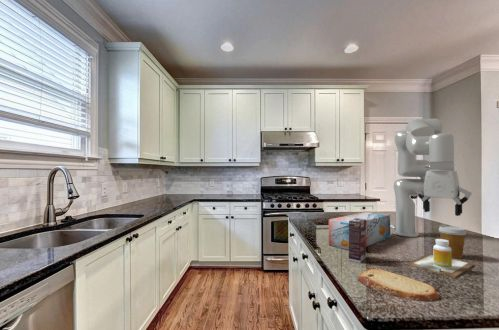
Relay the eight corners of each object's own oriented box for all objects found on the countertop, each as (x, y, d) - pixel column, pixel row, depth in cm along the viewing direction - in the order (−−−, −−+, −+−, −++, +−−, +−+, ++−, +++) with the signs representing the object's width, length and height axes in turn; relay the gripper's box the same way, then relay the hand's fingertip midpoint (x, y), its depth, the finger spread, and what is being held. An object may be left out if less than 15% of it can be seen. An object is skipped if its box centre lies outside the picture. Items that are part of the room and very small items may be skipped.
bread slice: (445, 301, 72) (445, 287, 73) (385, 304, 71) (385, 290, 71) (401, 275, 90) (401, 264, 90) (352, 277, 88) (352, 266, 89)
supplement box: (360, 263, 101) (360, 222, 101) (348, 260, 104) (348, 220, 104) (366, 257, 108) (366, 219, 108) (354, 255, 111) (354, 217, 111)
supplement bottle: (453, 270, 92) (452, 242, 92) (434, 267, 95) (434, 240, 95) (450, 265, 97) (449, 239, 97) (432, 263, 99) (432, 237, 100)
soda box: (355, 253, 114) (355, 223, 115) (327, 246, 125) (327, 218, 125) (391, 237, 141) (391, 213, 142) (365, 232, 152) (365, 210, 152)
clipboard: (407, 264, 100) (407, 260, 100) (428, 255, 111) (428, 251, 111) (455, 277, 88) (455, 273, 88) (473, 265, 99) (473, 261, 99)
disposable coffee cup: (461, 254, 113) (460, 226, 113) (471, 261, 104) (471, 231, 104) (435, 251, 116) (435, 224, 116) (443, 258, 107) (443, 229, 107)
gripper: (411, 167, 101) (411, 211, 101) (467, 166, 87) (468, 218, 87) (419, 167, 106) (420, 209, 105) (474, 167, 92) (475, 215, 91)
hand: (441, 213), depth 96 cm, fingers open, 9 cm apart
